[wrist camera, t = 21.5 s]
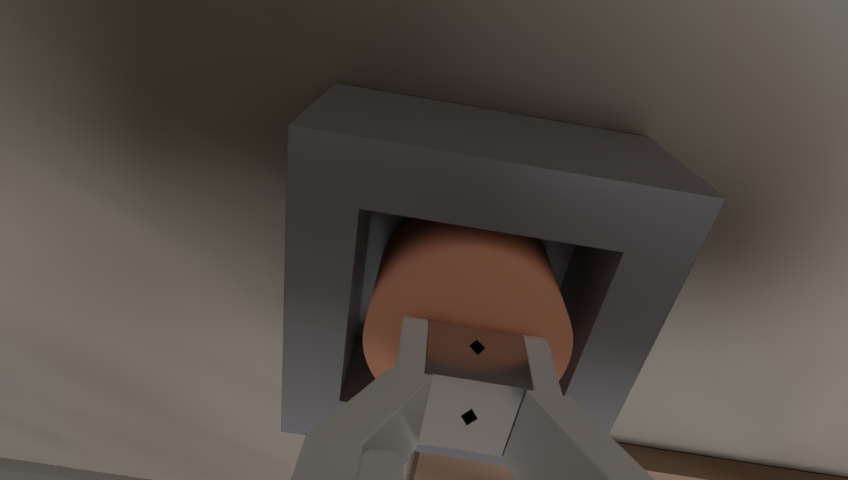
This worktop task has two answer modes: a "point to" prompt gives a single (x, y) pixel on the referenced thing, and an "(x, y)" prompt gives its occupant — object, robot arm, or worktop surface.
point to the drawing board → (673, 471)
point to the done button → (464, 288)
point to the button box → (484, 209)
